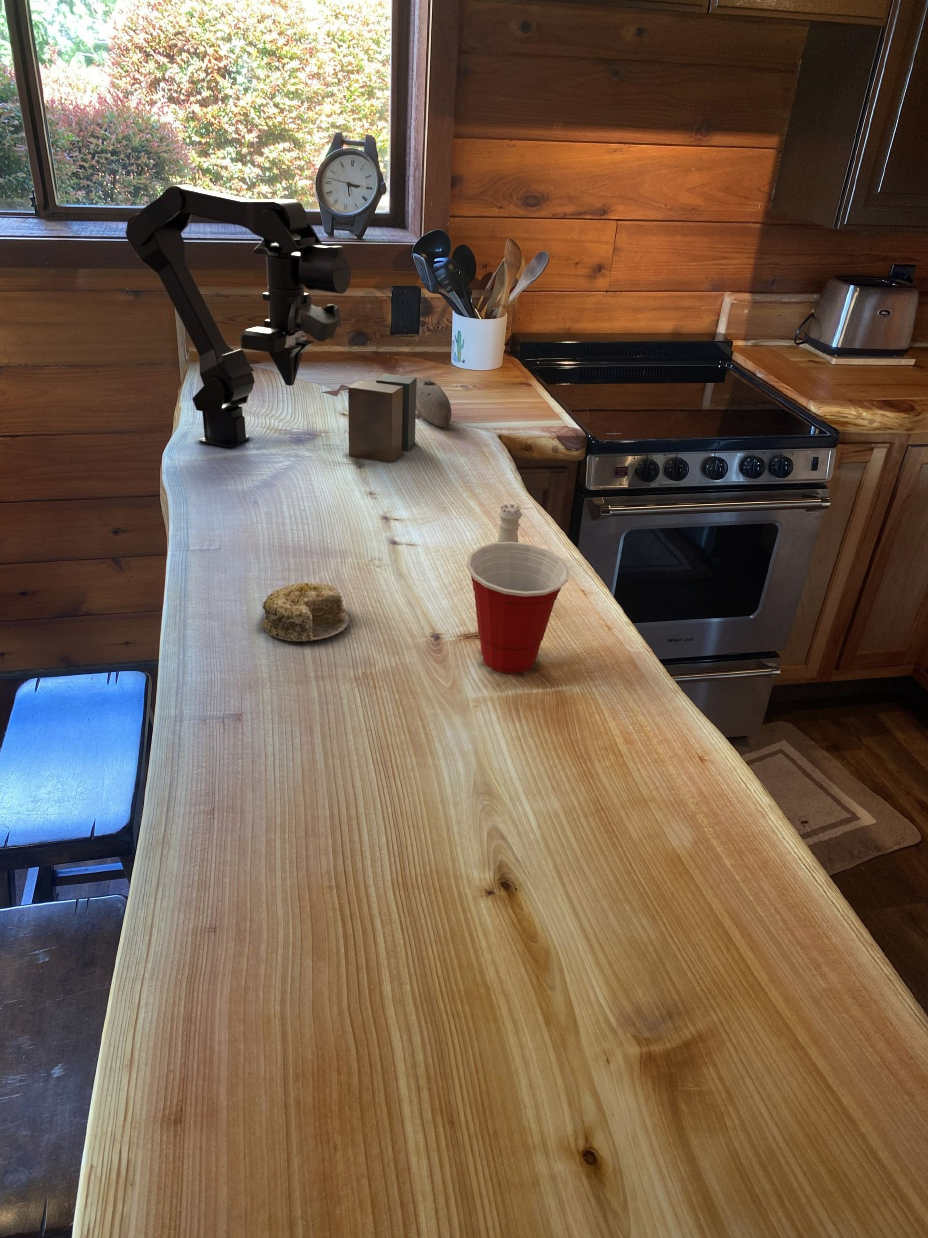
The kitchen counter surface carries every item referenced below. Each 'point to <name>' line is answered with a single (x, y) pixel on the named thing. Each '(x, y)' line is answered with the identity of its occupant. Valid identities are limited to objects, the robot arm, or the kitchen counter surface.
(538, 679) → the kitchen counter surface
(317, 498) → the kitchen counter surface
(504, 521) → the rook chess piece
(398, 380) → the slate block
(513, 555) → the plastic cup
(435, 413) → the perforated stone tool
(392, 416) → the walnut block
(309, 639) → the cake
